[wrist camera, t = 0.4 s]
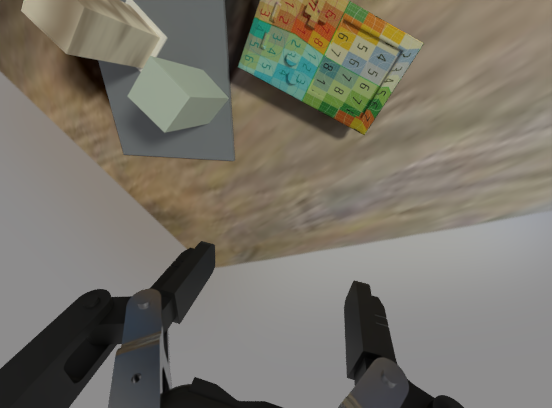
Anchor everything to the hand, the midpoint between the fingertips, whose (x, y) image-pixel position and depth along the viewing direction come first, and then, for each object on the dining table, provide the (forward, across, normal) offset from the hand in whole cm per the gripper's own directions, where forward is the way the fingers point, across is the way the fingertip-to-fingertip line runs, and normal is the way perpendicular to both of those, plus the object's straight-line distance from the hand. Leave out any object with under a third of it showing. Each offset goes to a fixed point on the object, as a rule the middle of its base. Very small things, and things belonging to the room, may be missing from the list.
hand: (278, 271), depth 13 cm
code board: (+27, +26, -8) cm, 39 cm away
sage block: (+27, +19, -5) cm, 33 cm away
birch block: (+27, +30, -12) cm, 42 cm away
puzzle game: (+30, +1, -12) cm, 32 cm away
